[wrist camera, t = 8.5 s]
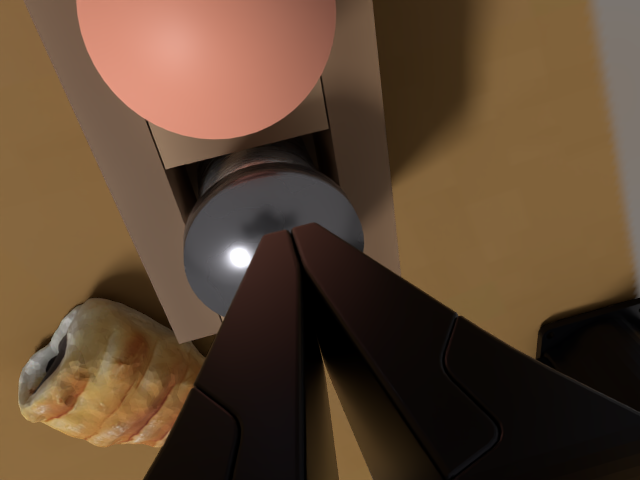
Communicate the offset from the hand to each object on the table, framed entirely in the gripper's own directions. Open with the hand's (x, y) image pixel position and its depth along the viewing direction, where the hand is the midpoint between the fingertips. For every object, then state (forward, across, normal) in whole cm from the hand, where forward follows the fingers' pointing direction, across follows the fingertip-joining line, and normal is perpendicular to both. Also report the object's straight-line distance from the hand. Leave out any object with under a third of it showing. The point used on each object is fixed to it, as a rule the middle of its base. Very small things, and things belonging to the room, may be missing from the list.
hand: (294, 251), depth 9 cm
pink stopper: (+10, 0, -3) cm, 11 cm away
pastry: (+13, +8, +13) cm, 20 cm away
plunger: (+11, 0, +4) cm, 12 cm away
